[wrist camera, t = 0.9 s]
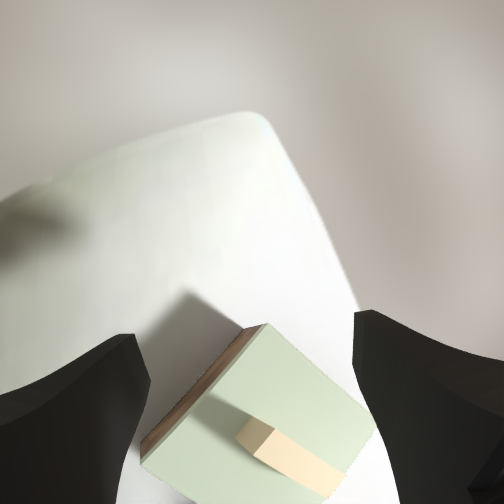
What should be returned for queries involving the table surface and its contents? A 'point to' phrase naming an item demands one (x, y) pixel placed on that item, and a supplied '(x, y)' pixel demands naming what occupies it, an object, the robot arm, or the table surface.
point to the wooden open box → (197, 390)
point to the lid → (263, 432)
